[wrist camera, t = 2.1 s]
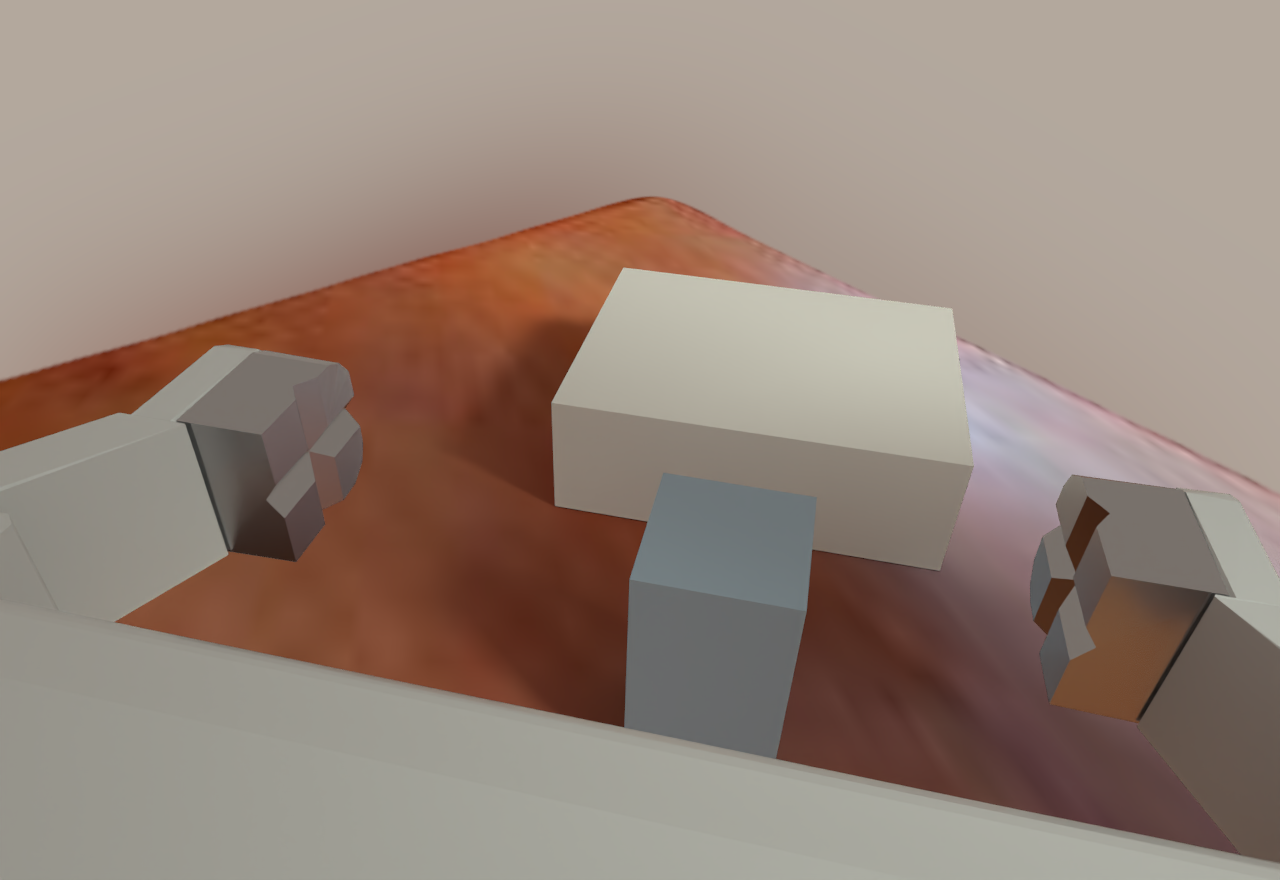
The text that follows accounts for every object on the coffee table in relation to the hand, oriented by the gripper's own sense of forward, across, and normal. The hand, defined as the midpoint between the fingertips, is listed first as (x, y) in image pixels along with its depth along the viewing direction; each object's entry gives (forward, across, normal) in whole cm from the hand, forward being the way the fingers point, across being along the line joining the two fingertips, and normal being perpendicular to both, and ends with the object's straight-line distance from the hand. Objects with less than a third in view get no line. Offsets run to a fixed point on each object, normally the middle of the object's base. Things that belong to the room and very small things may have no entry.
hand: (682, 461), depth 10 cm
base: (+30, 0, +22) cm, 37 cm away
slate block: (+12, 0, +22) cm, 25 cm away
